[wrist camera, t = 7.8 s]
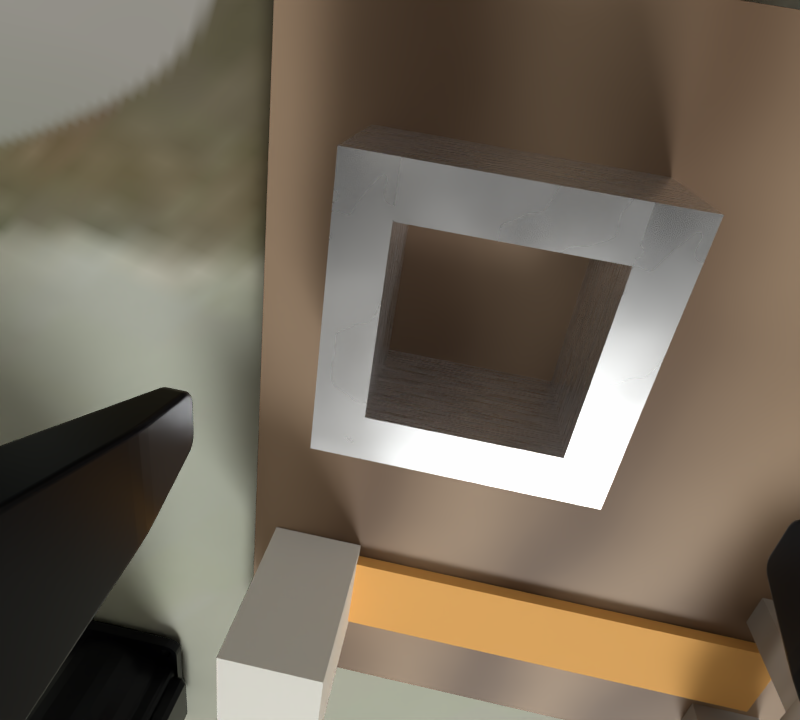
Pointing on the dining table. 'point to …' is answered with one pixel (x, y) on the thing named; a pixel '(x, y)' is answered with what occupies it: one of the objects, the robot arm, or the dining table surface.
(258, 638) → the bolt
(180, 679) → the robot arm
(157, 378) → the dining table surface
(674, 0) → the board
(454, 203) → the silver square frame
